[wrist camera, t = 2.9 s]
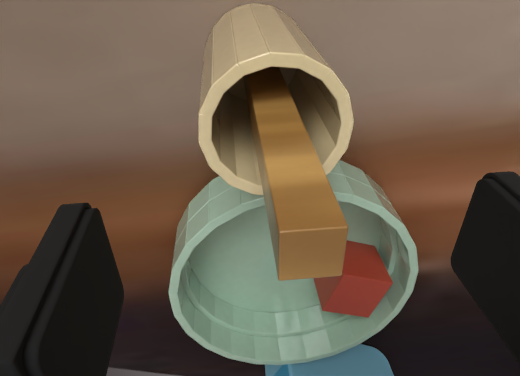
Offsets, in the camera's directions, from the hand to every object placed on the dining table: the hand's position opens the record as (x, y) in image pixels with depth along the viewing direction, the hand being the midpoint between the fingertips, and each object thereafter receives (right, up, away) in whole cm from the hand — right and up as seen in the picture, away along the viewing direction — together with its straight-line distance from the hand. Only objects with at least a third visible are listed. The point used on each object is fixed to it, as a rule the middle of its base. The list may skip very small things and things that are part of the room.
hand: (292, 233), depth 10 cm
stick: (-1, +8, +12) cm, 15 cm away
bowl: (+1, -3, +21) cm, 22 cm away
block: (+6, -5, +22) cm, 24 cm away
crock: (-1, +9, +13) cm, 16 cm away
